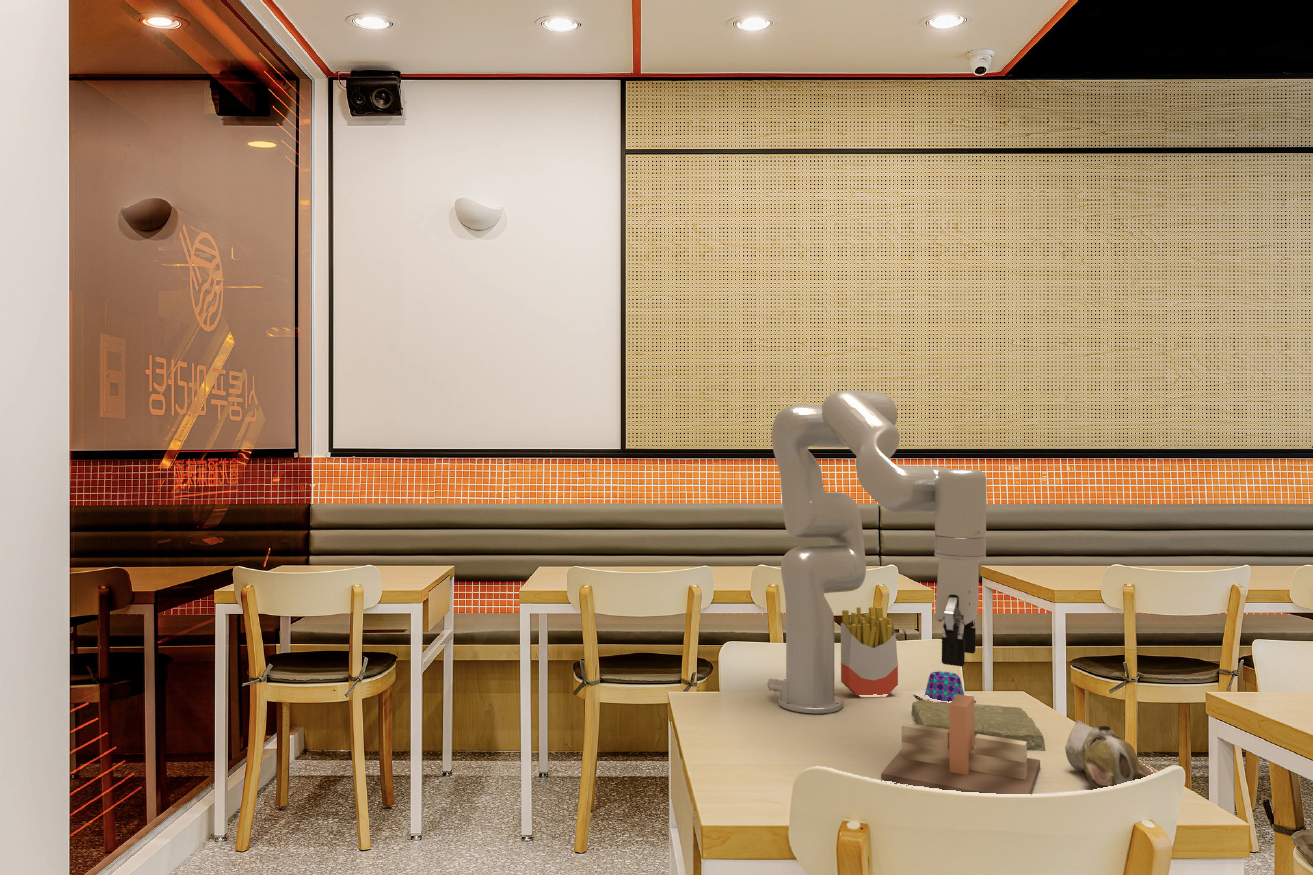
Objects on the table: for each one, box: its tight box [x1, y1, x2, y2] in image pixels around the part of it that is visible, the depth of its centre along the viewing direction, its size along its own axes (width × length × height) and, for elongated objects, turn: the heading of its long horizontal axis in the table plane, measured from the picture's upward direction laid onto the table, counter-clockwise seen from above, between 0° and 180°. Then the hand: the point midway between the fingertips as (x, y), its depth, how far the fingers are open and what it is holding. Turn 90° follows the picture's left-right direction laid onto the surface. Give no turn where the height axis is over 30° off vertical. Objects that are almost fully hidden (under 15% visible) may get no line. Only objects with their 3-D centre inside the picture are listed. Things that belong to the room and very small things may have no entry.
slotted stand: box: [880, 722, 1041, 795], centre depth 126 cm, size 20×19×6 cm
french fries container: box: [840, 606, 899, 696], centre depth 172 cm, size 5×11×18 cm, turn 101°
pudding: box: [914, 670, 977, 702], centre depth 170 cm, size 12×12×5 cm
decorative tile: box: [911, 699, 1046, 752], centre depth 148 cm, size 19×20×4 cm
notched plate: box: [949, 694, 975, 775], centre depth 126 cm, size 2×7×10 cm, turn 150°
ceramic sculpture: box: [1064, 719, 1157, 789], centre depth 123 cm, size 11×9×15 cm
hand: (959, 658), depth 127 cm, fingers open, 9 cm apart
